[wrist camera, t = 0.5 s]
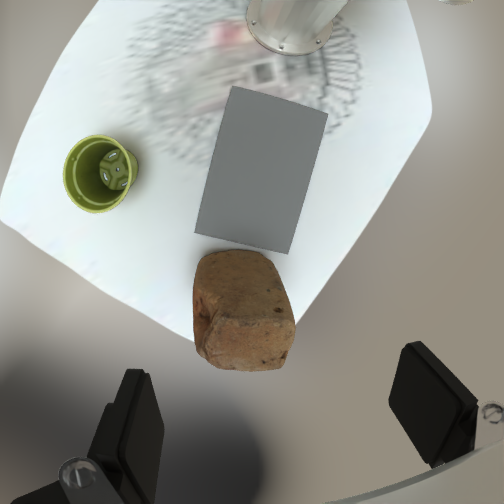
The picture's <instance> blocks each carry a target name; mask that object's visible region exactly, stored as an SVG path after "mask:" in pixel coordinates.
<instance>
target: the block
mask: <svg viewBox="0 0 504 504" xmlns="http://www.w3.org/2000/svg"><path fill="white" fill-rule="evenodd" d="M193 331H194V341H195V345H196V350H197V352H198V354H199V355H200V356H201V357H203V358H205V359H206V360H207V361H208V362H209V363H210V364H212V365H213V366H215V367H217V368H219V369H225V370H239V371H250V372H252V371H266V370H274V369H279V368H281V367H282V366H283V365H284V363H285V360H286V357H287V354H288V351H289V349H290V348H291V345H292V343H293V340H294V335H295V320H294V315H293V312H292V308H291V305H290V302H289V299H288V296H287V294H286V291H285V288H284V286H283V283H282V281H281V278H280V276H279V274H278V271H277V270H276V268H275V266H274V264H273V263H272V261H271V260H269V259H267V258H265V257H263V255H262V254H260V253H258V252H254V251H247V250H229V251H221V252H216V253H211V254H210V255H209V256H205V257H203V258H202V259H201V260H200V261H199V264H198V266H197V270H196V274H195V278H194V285H193Z"/></svg>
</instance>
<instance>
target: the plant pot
mask: <svg viewBox="0 0 504 504" xmlns="http://www.w3.org/2000/svg"><path fill="white" fill-rule="evenodd" d="M112 153H116V155H114V156H112V157H110V158H109V156H110V155H111V154H112ZM117 168H119V171H116V169H117ZM103 173H105V174H106V177H107V179H108V181H106V180H105V179H104V176H103ZM137 173H138V164H137V161H136V158H135V157H134V155H133V154H132V153H131V152H129V151H128V150H126V149H124V147H123V146H122V145H121V144H120V143H119V142H118V141H116V140H115V139H113V138H111V137H108V136H105V135H92V136H89V137H86V138H84V139H82V140H81V141H79V142H78V143H77V144H76V145H75V146H74V147H73V148H72V149H71V150H70V152H69V153H68V156H67V158H66V160H65V163H64V168H63V182H64V186H65V189H66V192H67V194H68V196H69V197H70V199H71V200H72V202H73V203H74V204H75V205H77V206H78V207H79V208H81V209H82V210H84V211H87V212H90V213H103V212H106V211H109V210H111V209H113V208H114V207H116V206H117V205H118V204H119V203H120V202H121V201H122V200H123V199H124V197H125V196H126V194H127V192H128V190H129V187H130V186H131V185H132V184H133V182H134V181H135V179H136V176H137ZM127 181H128V183H127V184H126V185H125V186H121V184H124V183H126V182H127Z"/></svg>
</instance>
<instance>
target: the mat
mask: <svg viewBox="0 0 504 504" xmlns="http://www.w3.org/2000/svg"><path fill="white" fill-rule="evenodd" d="M327 117H328V114H327V113H324V112H321V111H318V110H315V109H313V108H310V107H306V106H303V105H300V104H297V103H294V102H291V101H288V100H284V99H281V98H278V97H274V96H271V95H267V94H263V93H260V92H256V91H252V90H248V89H244V88H240V87H236V86H232V89H231V92H230V95H229V99H228V102H227V106H226V109H225V113H224V116H223V120H222V123H221V127H220V131H219V134H218V138H217V142H216V146H215V149H214V153H213V157H212V161H211V165H210V169H209V173H208V177H207V181H206V185H205V189H204V193H203V197H202V202H201V206H200V210H199V214H198V219H197V223H196V228H195V232H194V233H198V234H202V235H206V236H211V237H215V238H219V239H224V240H228V241H232V242H237V243H241V244H245V245H250V246H254V247H258V248H262V249H267V250H271V251H275V252H280V253H284V254H288V252H289V249H290V246H291V243H292V239H293V236H294V233H295V230H296V226H297V223H298V220H299V216H300V213H301V209H302V206H303V203H304V199H305V196H306V192H307V189H308V185H309V182H310V178H311V175H312V171H313V168H314V164H315V161H316V157H317V154H318V150H319V146H320V143H321V139H322V135H323V132H324V128H325V124H326V121H327Z"/></svg>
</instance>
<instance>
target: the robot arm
mask: <svg viewBox="0 0 504 504" xmlns="http://www.w3.org/2000/svg"><path fill="white" fill-rule="evenodd" d="M348 1H349V0H251V2H250V4H249V6H248V9H247V16H246V19H247V25H248V27H249V30H250V32H251V33H252V35H253V36H254V38H255V39H256V40H257V41H258V42H259V43H260V44H262V45H263V46H264V47H266V48H268V49H270V50H272V51H274V52H277V53H280V54H283V55H289V56H300V55H307V54H310V53H313V52H315V51H316V50H318V49H320V48H321V47H322V46H323V45H324V44H325V43H326V42H327V41H328V39H329V38H330V36H331V33H332V29H333V21H332V19H333V18H334V17H335V16H336V15H337V13H338V12H339V11H340V10H341V9H342V8H343V7H344V6H345V5H346V4H347V3H348ZM439 1H441V2H444V3H446V4H451V5H463V4H466V3H469V2H471V1H473V0H439ZM252 24H255V25H252ZM316 43H318V44H316ZM280 48H282V49H283V50H281V49H280ZM477 402H478V399H476V397H475V396H474V395H473V394H472V393H471V392H470V391H469V390H468V389H467V388H466V387H465V386H464V385H463V383H461V381H460V380H459V379H458V378H457V377H455V375H454V374H453V373H452V372H451V371H450V370H449V369H448V368H447V367H446V366H445V365H444V364H443V363H442V362H441V361H440V360H439V359H438V358H437V357H436V356H435V355H434V354H433V353H432V352H431V351H430V350H429V349H428V348H427V347H426V346H425V345H424V344H423V343H422V342H421V341H416V342H412V343H408V344H406V345H405V347H404V348H403V349H402V351H401V354H400V359H399V363H398V367H397V371H396V374H395V378H394V382H393V385H392V389H391V393H390V396H389V406H390V408H391V410H392V411H393V413H394V414H395V416H396V417H397V419H398V421H399V422H400V424H401V425H402V427H403V428H404V430H405V432H406V433H407V435H408V436H409V438H410V440H411V441H412V443H413V444H414V446H415V448H416V449H417V451H418V452H419V454H420V456H421V457H422V459H423V461H424V462H425V463H426V464H428V463H429V465H430V467H431V468H432V470H430V471H427V472H425V473H423V474H420V475H417V476H415V477H412V478H409V479H407V480H404V481H401V482H398V483H395V484H392V485H389V486H386V487H383V488H380V489H377V490H374V491H370V492H367V493H363V494H360V495H356V496H352V497H348V498H345V499H340V500H336V501H331V502H327V503H322V504H504V405H503V404H501V403H499V402H496V401H487V402H484V403H482V404H481V405H480V406H478V405H477ZM163 437H164V423H163V420H162V417H161V414H160V410H159V407H158V403H157V400H156V396H155V393H154V389H153V385H152V382H151V378H150V375H149V373H145V372H144V370H143V369H127V370H126V372H125V375H124V377H123V380H122V383H121V385H120V387H119V390H118V393H117V395H116V398H115V401H114V403H108V404H107V405H106V407H105V409H104V412H103V415H102V417H101V420H100V422H99V425H98V428H97V430H96V433H95V436H94V438H93V441H92V444H91V447H90V449H89V452H88V455H87V458H86V457H75V458H72V459H69V460H68V461H66V462H65V463H64V464H63V465H62V466H61V467H60V469H59V474H58V478H59V480H58V481H56V482H54V483H52V484H49V485H47V486H45V487H42V488H40V489H38V490H35V491H33V492H31V493H28V494H26V495H23V496H21V497H19V498H17V499H15V500H13V501H12V503H11V504H154V500H155V492H156V485H157V478H158V471H159V464H160V457H161V450H162V444H163ZM444 463H445V464H444ZM443 464H444V465H443ZM440 465H441V466H440ZM438 466H439V467H438ZM436 467H437V468H436ZM433 468H434V469H433Z"/></svg>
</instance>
